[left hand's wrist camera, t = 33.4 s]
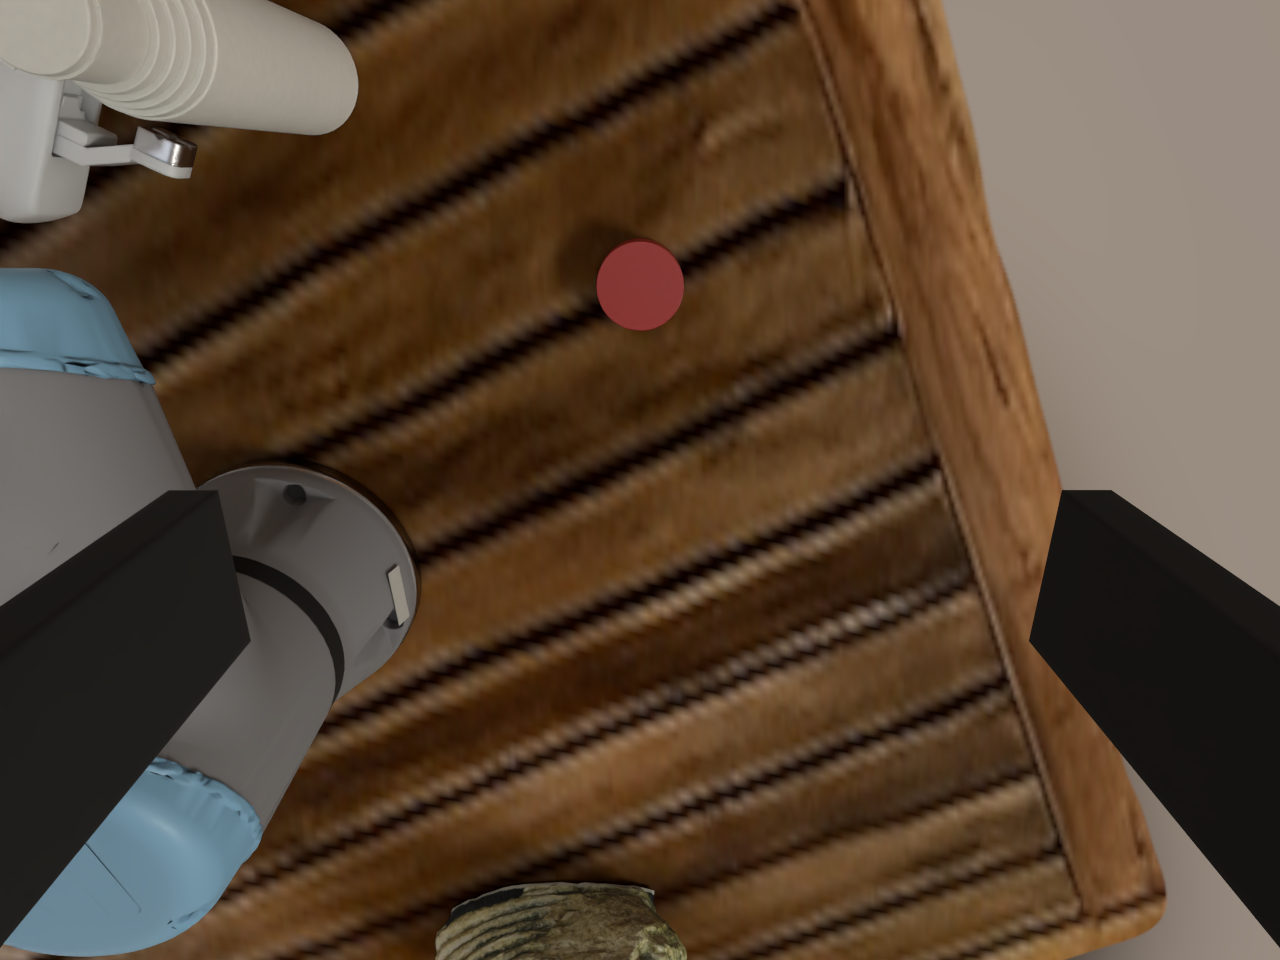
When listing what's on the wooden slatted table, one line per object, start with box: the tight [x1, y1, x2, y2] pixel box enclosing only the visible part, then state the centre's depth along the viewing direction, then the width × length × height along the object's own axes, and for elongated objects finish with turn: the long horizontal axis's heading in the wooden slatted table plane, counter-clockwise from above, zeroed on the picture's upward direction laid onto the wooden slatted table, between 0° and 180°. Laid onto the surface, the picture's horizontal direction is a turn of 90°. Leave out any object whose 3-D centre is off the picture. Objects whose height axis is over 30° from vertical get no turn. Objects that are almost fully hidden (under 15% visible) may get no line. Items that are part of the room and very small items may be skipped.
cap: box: [596, 238, 684, 331], centre depth 41 cm, size 5×5×2 cm
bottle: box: [0, 0, 358, 135], centre depth 30 cm, size 5×5×19 cm
